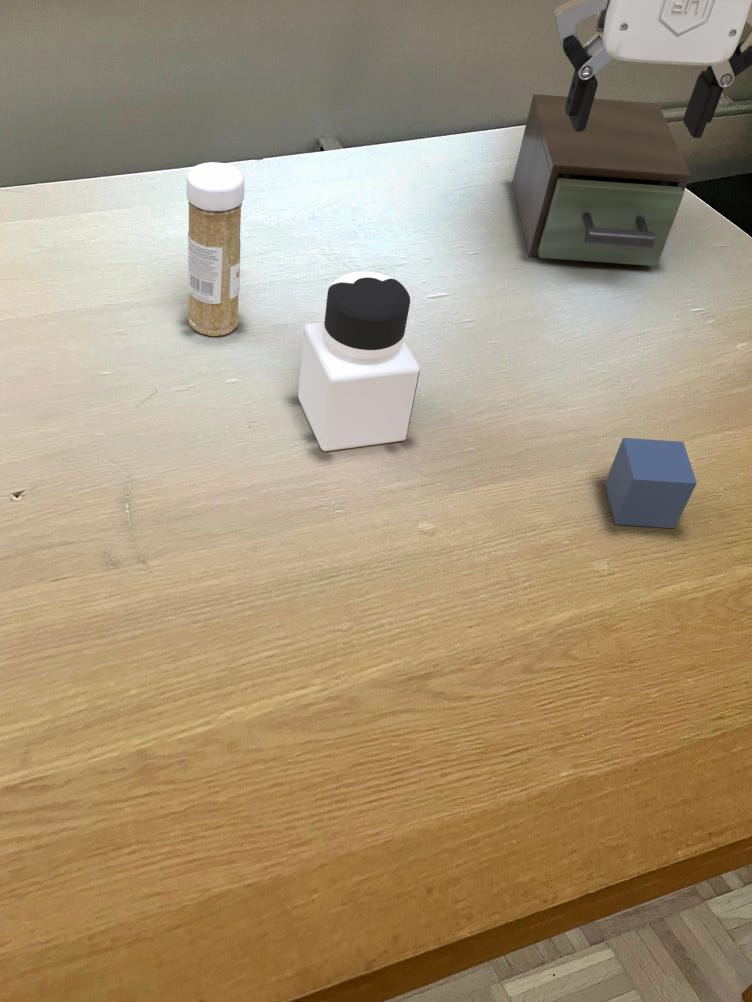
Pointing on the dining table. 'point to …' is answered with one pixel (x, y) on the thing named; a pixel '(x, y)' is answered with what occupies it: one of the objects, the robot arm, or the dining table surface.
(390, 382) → the medicine bottle
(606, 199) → the drawer
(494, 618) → the dining table surface
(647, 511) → the block
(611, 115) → the cabinet
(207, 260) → the spice jar
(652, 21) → the robot arm
